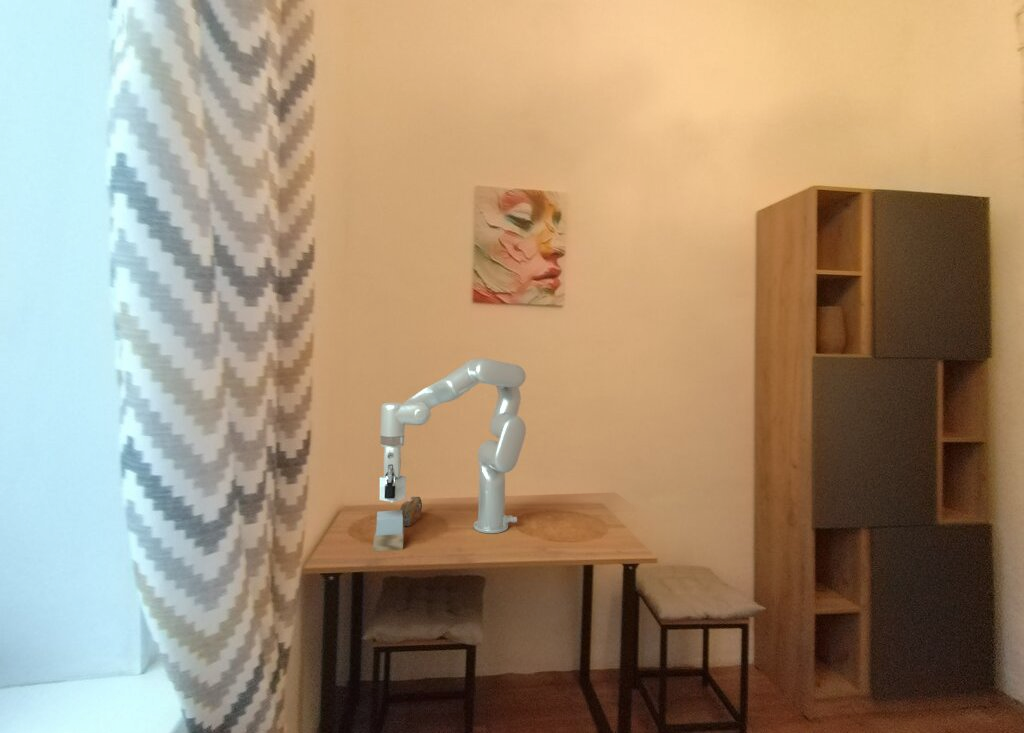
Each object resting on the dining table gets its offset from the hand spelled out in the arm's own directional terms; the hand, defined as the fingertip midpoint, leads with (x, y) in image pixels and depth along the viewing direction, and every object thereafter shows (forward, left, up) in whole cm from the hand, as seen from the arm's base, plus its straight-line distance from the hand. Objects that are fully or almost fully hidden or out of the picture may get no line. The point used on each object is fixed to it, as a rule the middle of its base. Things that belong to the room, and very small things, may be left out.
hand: (390, 493), depth 145 cm
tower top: (0, 0, -12) cm, 12 cm away
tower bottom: (0, 0, -17) cm, 17 cm away
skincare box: (-1, 0, -2) cm, 2 cm away
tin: (-6, -20, -17) cm, 27 cm away
